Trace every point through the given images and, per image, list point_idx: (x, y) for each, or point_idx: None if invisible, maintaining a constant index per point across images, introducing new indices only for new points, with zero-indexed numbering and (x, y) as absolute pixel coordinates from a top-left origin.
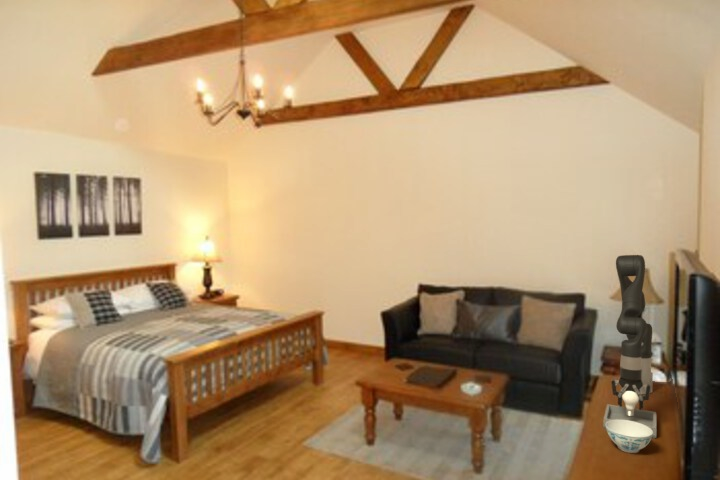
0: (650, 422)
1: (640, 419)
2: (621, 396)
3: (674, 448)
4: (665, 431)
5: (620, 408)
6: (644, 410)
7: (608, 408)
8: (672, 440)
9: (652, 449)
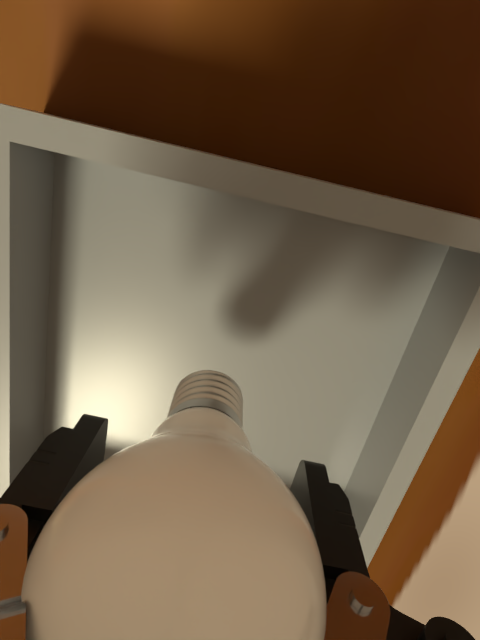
0: (396, 316)
1: (327, 265)
2: (43, 514)
3: (394, 602)
4: (456, 403)
5: (143, 172)
6: (411, 210)
7: (5, 267)
8: (433, 522)
9: None
